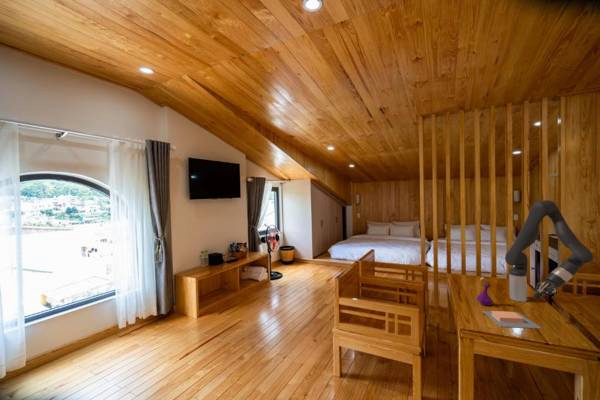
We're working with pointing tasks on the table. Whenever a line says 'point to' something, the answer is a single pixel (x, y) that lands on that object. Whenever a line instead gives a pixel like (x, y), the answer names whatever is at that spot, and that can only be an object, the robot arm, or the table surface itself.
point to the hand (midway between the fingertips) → (534, 297)
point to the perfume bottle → (485, 295)
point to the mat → (526, 323)
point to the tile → (507, 317)
